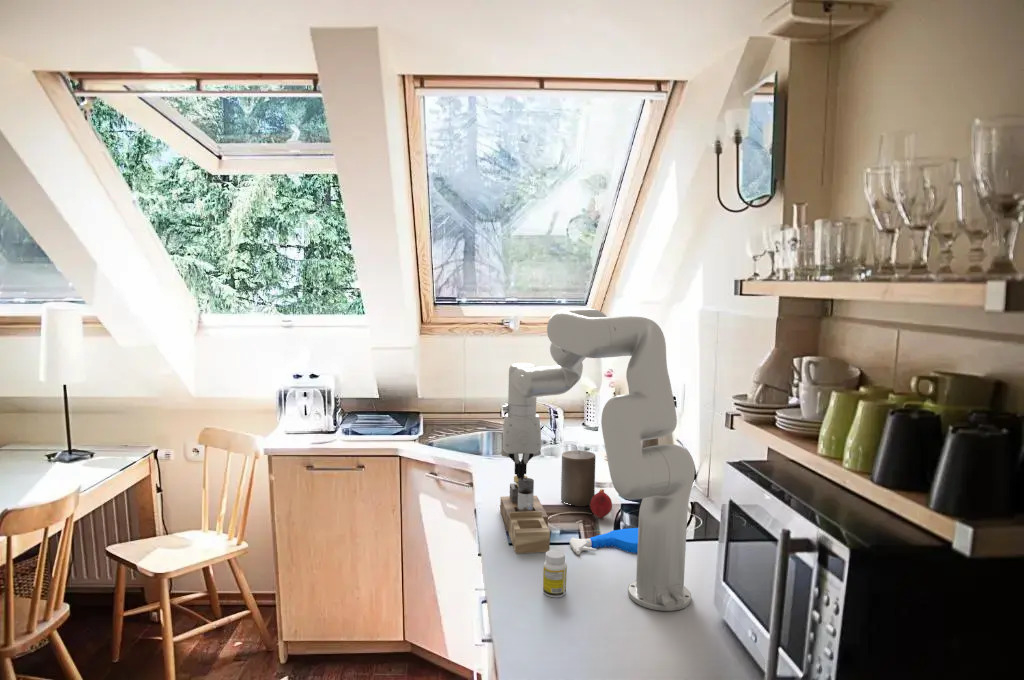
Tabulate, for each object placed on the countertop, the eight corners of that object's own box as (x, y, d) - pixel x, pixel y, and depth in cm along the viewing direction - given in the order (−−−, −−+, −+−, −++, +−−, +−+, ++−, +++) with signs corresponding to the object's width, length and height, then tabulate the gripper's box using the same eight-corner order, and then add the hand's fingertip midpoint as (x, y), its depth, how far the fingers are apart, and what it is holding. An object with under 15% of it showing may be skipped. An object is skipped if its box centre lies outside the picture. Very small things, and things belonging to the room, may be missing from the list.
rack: (549, 551, 162) (550, 527, 161) (515, 553, 161) (516, 528, 160) (540, 533, 173) (541, 510, 172) (509, 535, 172) (509, 511, 171)
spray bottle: (659, 524, 174) (565, 531, 169) (677, 541, 163) (577, 549, 159) (659, 535, 174) (565, 542, 170) (677, 553, 164) (577, 561, 159)
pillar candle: (601, 504, 196) (602, 452, 194) (571, 508, 191) (573, 455, 190) (582, 494, 204) (583, 444, 203) (553, 498, 200) (555, 447, 198)
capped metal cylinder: (533, 528, 177) (535, 482, 175) (518, 528, 176) (519, 482, 175) (531, 522, 181) (532, 477, 179) (516, 522, 180) (517, 478, 179)
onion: (610, 523, 181) (611, 493, 180) (588, 521, 182) (589, 491, 181) (612, 515, 187) (613, 486, 186) (590, 513, 188) (591, 485, 187)
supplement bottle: (552, 585, 145) (553, 546, 144) (570, 592, 142) (571, 553, 141) (538, 593, 142) (539, 553, 141) (556, 600, 139) (558, 560, 138)
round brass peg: (528, 494, 185) (528, 478, 184) (514, 494, 184) (515, 479, 184) (525, 489, 188) (526, 474, 188) (512, 490, 188) (513, 475, 187)
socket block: (547, 532, 174) (548, 502, 173) (508, 533, 173) (509, 504, 172) (536, 509, 190) (537, 482, 189) (500, 510, 188) (500, 483, 188)
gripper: (495, 413, 179) (494, 482, 181) (552, 412, 181) (550, 480, 183) (492, 407, 186) (491, 473, 188) (546, 406, 188) (544, 472, 191)
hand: (520, 476), depth 186 cm, fingers closed
